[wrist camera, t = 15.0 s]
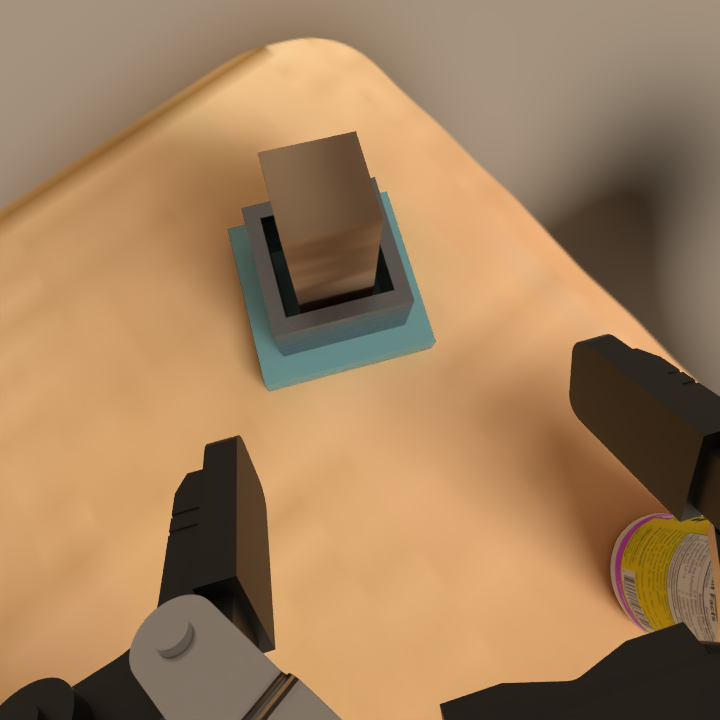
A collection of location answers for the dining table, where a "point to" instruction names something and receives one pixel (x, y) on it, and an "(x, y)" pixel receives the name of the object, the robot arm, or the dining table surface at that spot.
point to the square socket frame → (332, 320)
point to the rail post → (325, 218)
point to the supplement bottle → (666, 574)
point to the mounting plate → (332, 356)
